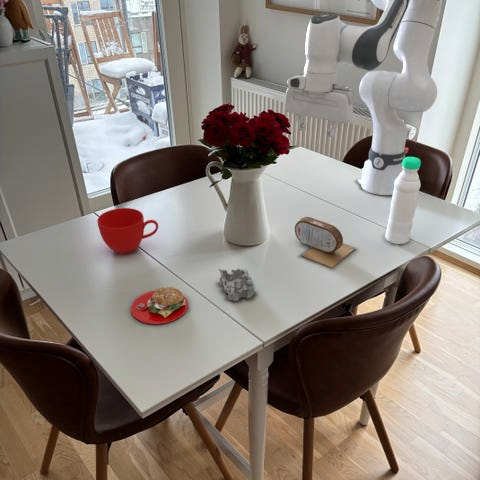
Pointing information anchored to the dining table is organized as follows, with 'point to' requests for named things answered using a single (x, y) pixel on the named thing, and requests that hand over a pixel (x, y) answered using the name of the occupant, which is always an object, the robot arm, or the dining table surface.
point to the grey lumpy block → (237, 284)
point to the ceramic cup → (123, 229)
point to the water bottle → (404, 202)
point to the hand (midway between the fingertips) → (316, 133)
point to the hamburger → (159, 306)
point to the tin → (318, 235)
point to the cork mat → (328, 255)
